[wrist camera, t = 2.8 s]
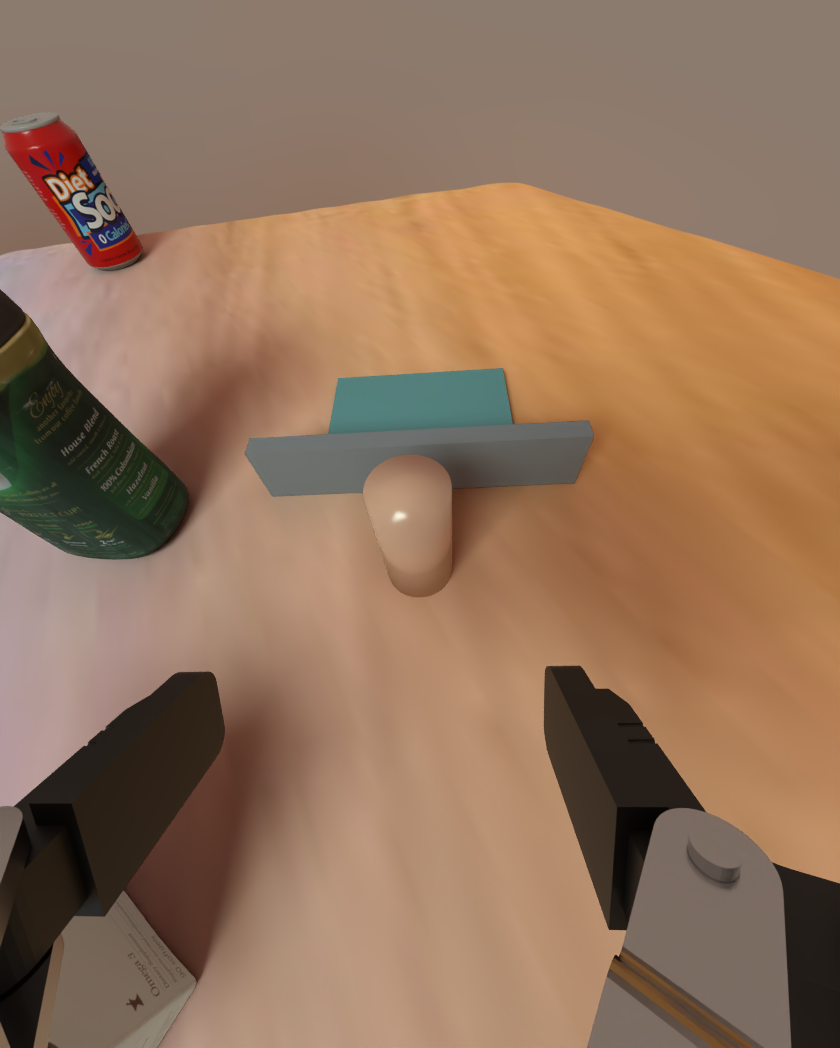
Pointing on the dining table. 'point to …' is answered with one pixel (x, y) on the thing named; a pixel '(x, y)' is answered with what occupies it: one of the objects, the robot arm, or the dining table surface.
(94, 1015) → the supplement box
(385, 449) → the low wall
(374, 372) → the dining table surface
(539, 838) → the dining table surface
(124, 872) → the robot arm
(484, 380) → the teal mat
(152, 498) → the coffee jar
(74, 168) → the soda can
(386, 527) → the tan domed capsule
